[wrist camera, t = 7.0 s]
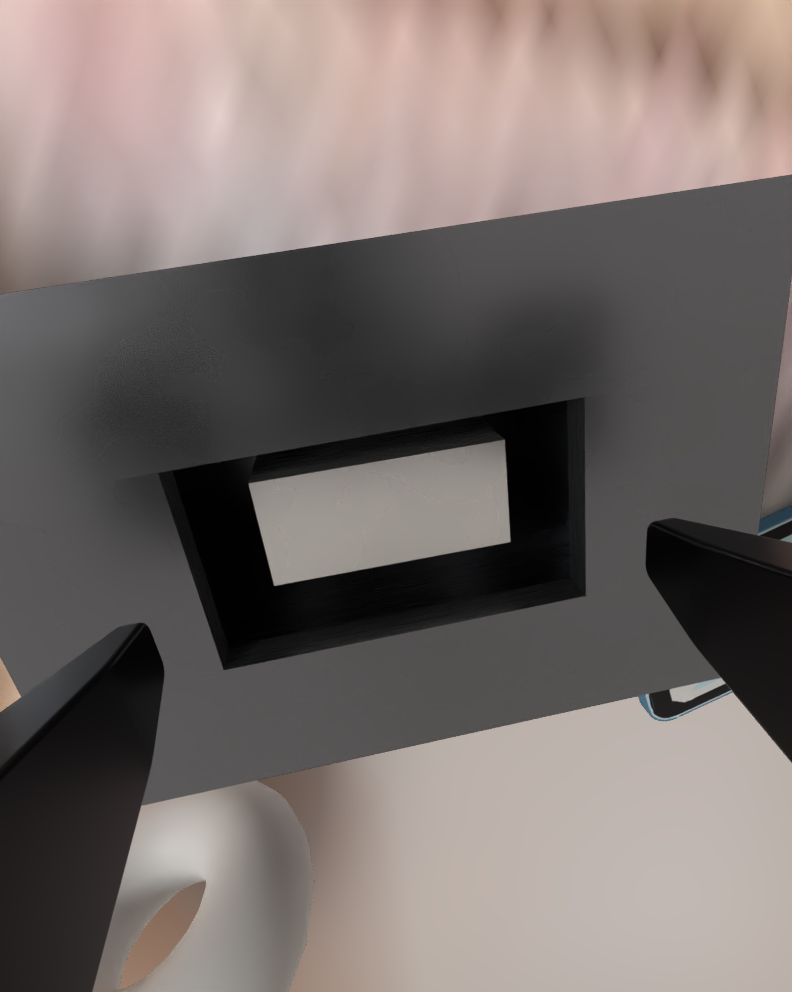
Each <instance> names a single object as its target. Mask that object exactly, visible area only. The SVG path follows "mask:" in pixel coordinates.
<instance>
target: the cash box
mask: <svg viewBox="0 0 792 992" xmlns="http://www.w3.org/2000/svg"><path fill="white" fill-rule="evenodd" d="M791 278H792V175H786V176H779V177H773V178H766V179H760V180H753V181H746V182H740V183H733V184H726V185H720V186H713V187H707V188H700V189H693V190H687V191H680V192H673V193H667V194H660V195H654V196H647V197H640V198H634V199H627V200H620V201H614V202H607V203H601V204H594V205H587V206H581V207H574V208H567V209H561V210H554V211H548V212H541V213H534V214H528V215H521V216H514V217H508V218H501V219H495V220H488V221H481V222H475V223H468V224H461V225H455V226H448V227H442V228H435V229H428V230H422V231H415V232H408V233H402V234H395V235H389V236H382V237H375V238H369V239H362V240H355V241H349V242H342V243H336V244H329V245H322V246H316V247H309V248H302V249H296V250H289V251H283V252H276V253H269V254H263V255H256V256H249V257H243V258H236V259H230V260H223V261H216V262H210V263H203V264H196V265H190V266H183V267H177V268H170V269H163V270H157V271H150V272H143V273H137V274H130V275H124V276H117V277H110V278H104V279H97V280H90V281H84V282H77V283H71V284H64V285H57V286H51V287H44V288H37V289H31V290H24V291H18V292H11V293H4V294H0V657H1V659H2V661H3V663H4V665H5V667H6V669H7V671H8V673H9V674H10V676H11V678H12V680H13V682H14V684H15V686H16V688H17V690H18V691H19V693H20V695H21V697H22V696H24V695H25V694H26V693H28V692H29V691H31V690H32V689H33V688H35V687H36V686H37V685H39V684H40V683H42V682H43V681H44V680H46V679H47V678H48V677H50V676H51V675H53V674H54V673H55V672H57V671H58V670H59V669H61V668H62V667H64V666H65V665H66V664H68V663H69V662H70V661H72V660H73V659H75V658H76V657H77V656H79V655H80V654H81V653H83V652H84V651H86V650H87V649H88V648H90V647H91V646H92V645H94V644H95V643H97V642H98V641H99V640H101V639H102V638H103V637H105V636H106V635H108V634H109V633H110V632H112V631H113V630H114V629H116V628H118V627H120V626H124V625H130V624H135V623H145V624H147V626H148V627H149V628H150V630H151V633H152V635H153V638H154V640H155V643H156V646H157V648H158V651H159V653H160V656H161V659H162V661H163V665H164V671H165V677H164V685H163V692H162V699H161V706H160V713H159V720H158V727H157V734H156V741H155V748H154V754H153V760H152V765H151V770H150V774H149V778H148V782H147V786H146V790H145V794H144V797H143V801H142V805H141V806H143V805H148V804H152V803H157V802H161V801H166V800H170V799H175V798H179V797H184V796H188V795H193V794H198V793H202V792H207V791H211V790H216V789H220V788H225V787H229V786H234V785H238V784H243V783H247V782H252V781H256V780H261V779H265V778H269V777H274V776H279V775H284V774H288V773H292V772H297V771H302V770H306V769H311V768H315V767H319V766H324V765H329V764H333V763H338V762H342V761H347V760H351V759H356V758H360V757H365V756H369V755H374V754H379V753H383V752H388V751H392V750H396V749H401V748H406V747H410V746H415V745H419V744H424V743H428V742H433V741H437V740H442V739H446V738H451V737H456V736H460V735H464V734H469V733H474V732H478V731H483V730H487V729H492V728H496V727H500V726H505V725H510V724H514V723H518V722H523V721H528V720H532V719H537V718H542V717H546V716H550V715H555V714H559V713H564V712H568V711H573V710H577V709H582V708H587V707H591V706H596V705H600V704H604V703H609V702H614V701H618V700H623V699H627V698H632V697H637V696H641V695H646V694H650V693H655V692H659V691H664V690H668V689H673V688H677V687H682V686H686V685H691V684H695V683H700V682H704V681H709V680H713V679H718V678H721V677H720V676H719V675H718V674H717V672H716V671H715V670H714V669H713V668H712V666H711V665H710V664H709V663H708V662H707V660H706V659H705V658H704V657H703V655H702V654H701V653H700V652H699V650H698V649H697V648H696V646H695V645H694V644H693V642H692V641H691V640H690V638H689V637H688V635H687V634H686V632H685V631H684V629H683V628H682V626H681V625H680V623H679V622H678V620H677V619H676V617H675V616H674V614H673V613H672V611H671V610H670V608H669V607H668V605H667V604H666V602H665V601H664V599H663V598H662V596H661V595H660V593H659V592H658V590H657V589H656V587H655V586H654V584H653V583H652V581H651V580H650V578H649V576H648V574H647V571H646V565H645V560H646V537H647V528H648V526H649V525H650V524H651V522H654V521H658V520H663V519H668V518H678V519H683V520H687V521H692V522H697V523H702V524H706V525H711V526H716V527H720V528H725V529H730V530H735V531H739V532H744V533H749V534H754V535H758V529H759V522H760V514H761V507H762V499H763V491H764V484H765V476H766V468H767V461H768V453H769V446H770V438H771V430H772V423H773V415H774V407H775V400H776V392H777V385H778V377H779V369H780V362H781V354H782V346H783V339H784V331H785V324H786V316H787V308H788V301H789V293H790V286H791ZM475 416H478V417H479V418H480V419H482V420H483V421H484V422H485V423H486V424H487V425H488V426H490V427H491V428H492V429H493V430H494V431H495V432H496V433H498V434H499V435H500V436H501V437H502V438H503V439H504V440H505V452H506V470H507V488H508V506H509V524H510V542H508V543H503V544H497V545H492V546H486V547H481V548H476V549H470V550H465V551H459V552H454V553H449V554H443V555H438V556H433V557H427V558H422V559H416V560H411V561H406V562H400V563H395V564H389V565H384V566H379V567H373V568H368V569H363V570H357V571H352V572H346V573H341V574H336V575H330V576H325V577H319V578H314V579H309V580H303V581H298V582H293V583H287V584H282V585H276V586H274V583H273V579H272V575H271V571H270V567H269V563H268V559H267V555H266V551H265V547H264V543H263V539H262V535H261V531H260V528H259V524H258V520H257V516H256V512H255V508H254V504H253V500H252V496H251V492H250V488H249V484H248V483H249V480H250V476H251V473H252V470H253V467H254V463H255V460H256V457H257V455H261V454H267V453H273V452H278V451H284V450H289V449H295V448H301V447H306V446H312V445H318V444H323V443H329V442H334V441H340V440H346V439H351V438H357V437H363V436H368V435H374V434H380V433H385V432H391V431H396V430H402V429H408V428H413V427H419V426H425V425H430V424H436V423H441V422H447V421H453V420H458V419H464V418H470V417H475Z"/></svg>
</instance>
